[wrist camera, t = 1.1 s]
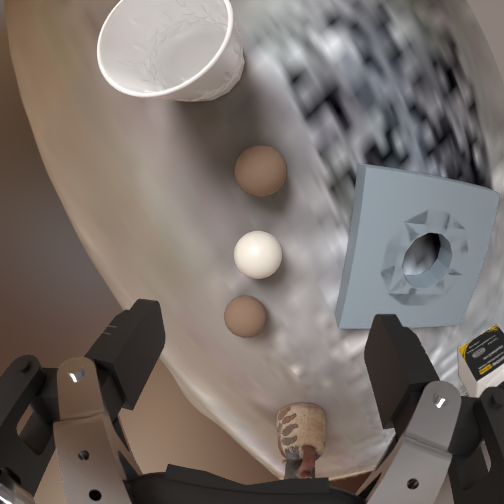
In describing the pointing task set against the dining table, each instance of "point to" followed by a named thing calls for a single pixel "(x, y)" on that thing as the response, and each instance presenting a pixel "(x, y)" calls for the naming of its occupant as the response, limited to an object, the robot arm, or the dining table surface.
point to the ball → (258, 254)
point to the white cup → (171, 49)
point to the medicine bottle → (482, 361)
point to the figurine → (301, 438)
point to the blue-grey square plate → (400, 239)
